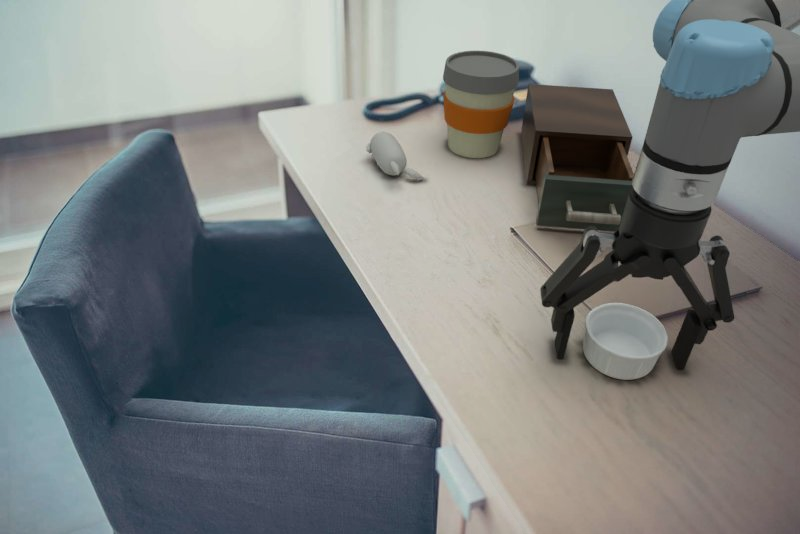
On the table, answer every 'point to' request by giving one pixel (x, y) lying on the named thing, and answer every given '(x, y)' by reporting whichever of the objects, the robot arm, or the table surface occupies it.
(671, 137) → the robot arm
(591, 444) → the table surface
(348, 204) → the table surface
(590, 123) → the cabinet
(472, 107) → the reusable coffee cup
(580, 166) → the drawer
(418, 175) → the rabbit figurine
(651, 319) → the ramekin
